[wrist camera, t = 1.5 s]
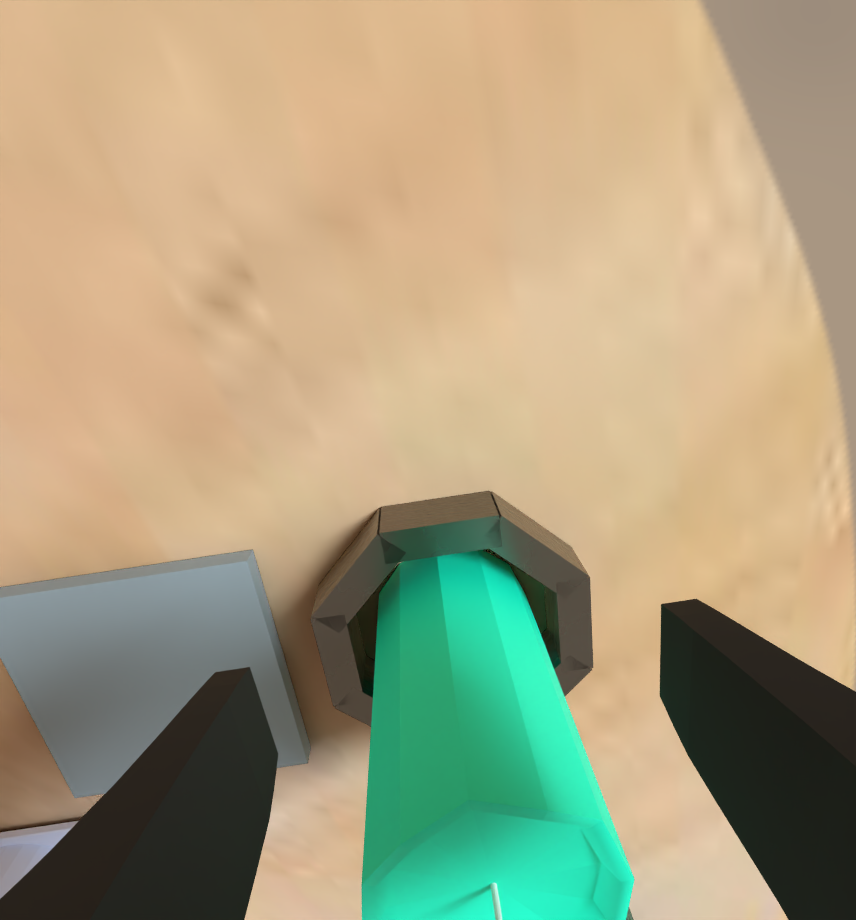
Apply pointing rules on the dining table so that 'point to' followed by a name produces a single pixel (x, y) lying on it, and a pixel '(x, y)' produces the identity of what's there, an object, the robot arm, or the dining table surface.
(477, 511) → the collar
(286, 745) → the mat
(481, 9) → the dining table surface
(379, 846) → the candle
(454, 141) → the dining table surface
